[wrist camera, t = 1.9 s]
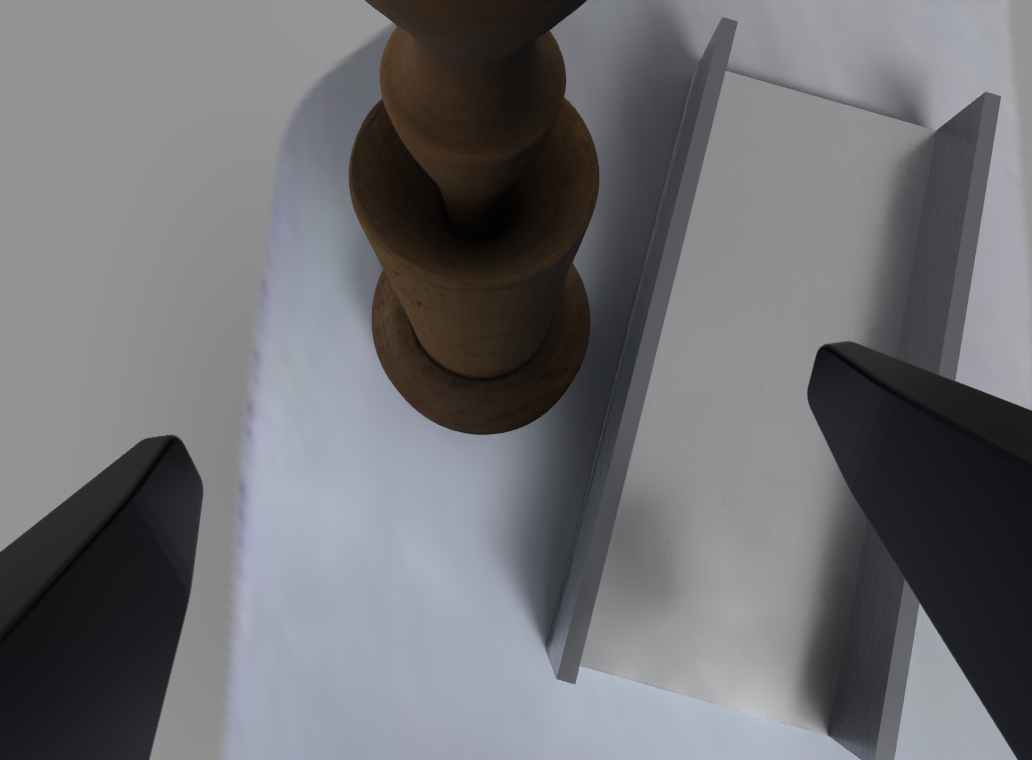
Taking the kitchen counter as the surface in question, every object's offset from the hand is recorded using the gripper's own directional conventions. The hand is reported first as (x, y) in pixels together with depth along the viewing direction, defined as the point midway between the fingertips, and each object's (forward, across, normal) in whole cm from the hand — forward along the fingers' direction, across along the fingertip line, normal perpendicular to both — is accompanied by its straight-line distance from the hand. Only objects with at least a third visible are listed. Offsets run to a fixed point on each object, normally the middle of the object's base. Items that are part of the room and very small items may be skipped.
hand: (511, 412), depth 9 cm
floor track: (+9, -9, +7) cm, 15 cm away
